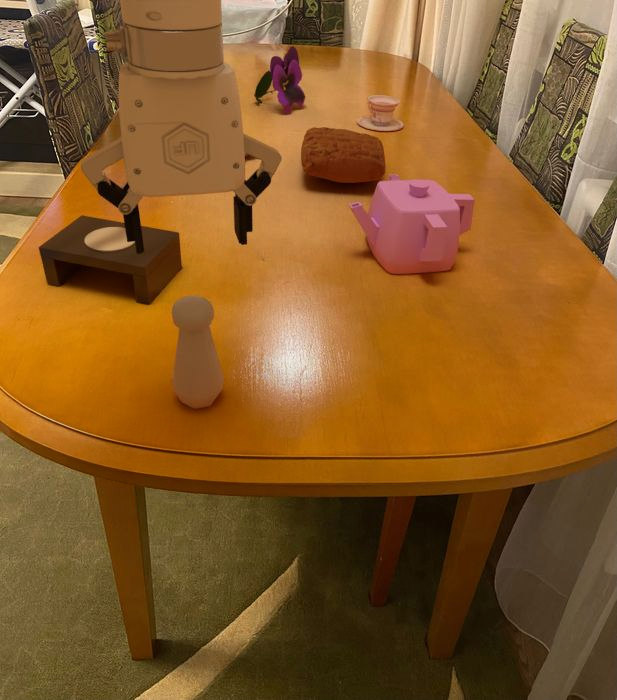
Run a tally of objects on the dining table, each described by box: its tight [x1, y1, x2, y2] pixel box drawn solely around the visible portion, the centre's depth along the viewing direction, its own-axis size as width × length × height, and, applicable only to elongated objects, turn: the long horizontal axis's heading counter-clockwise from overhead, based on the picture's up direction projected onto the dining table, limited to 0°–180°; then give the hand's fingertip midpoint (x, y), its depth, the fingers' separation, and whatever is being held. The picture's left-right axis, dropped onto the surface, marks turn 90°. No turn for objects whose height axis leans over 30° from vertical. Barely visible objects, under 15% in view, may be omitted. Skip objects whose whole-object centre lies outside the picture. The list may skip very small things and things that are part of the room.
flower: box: [253, 45, 306, 115], centre depth 160 cm, size 15×15×14 cm
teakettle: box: [348, 173, 476, 275], centre depth 97 cm, size 17×17×12 cm
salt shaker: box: [171, 295, 225, 410], centre depth 66 cm, size 6×6×13 cm
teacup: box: [356, 94, 405, 132], centre depth 154 cm, size 12×12×6 cm
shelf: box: [38, 215, 183, 306], centre depth 88 cm, size 16×11×6 cm
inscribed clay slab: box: [300, 126, 386, 184], centre depth 124 cm, size 22×17×8 cm
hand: (191, 242), depth 58 cm, fingers open, 9 cm apart
